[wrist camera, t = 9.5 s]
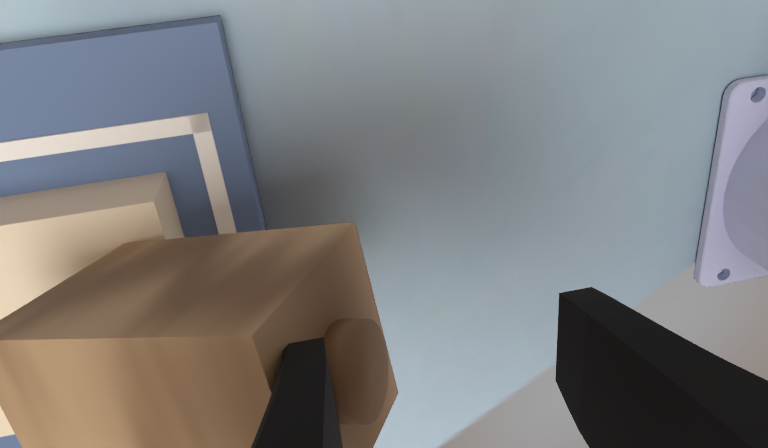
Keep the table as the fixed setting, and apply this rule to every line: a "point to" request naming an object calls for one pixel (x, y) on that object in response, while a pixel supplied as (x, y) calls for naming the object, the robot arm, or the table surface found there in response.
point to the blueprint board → (115, 151)
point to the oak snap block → (194, 342)
